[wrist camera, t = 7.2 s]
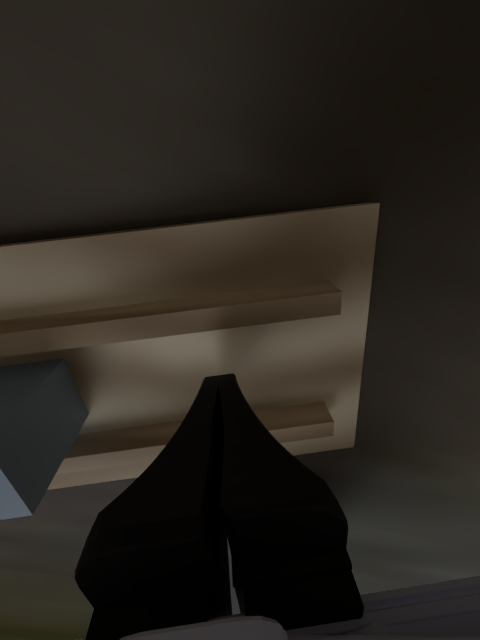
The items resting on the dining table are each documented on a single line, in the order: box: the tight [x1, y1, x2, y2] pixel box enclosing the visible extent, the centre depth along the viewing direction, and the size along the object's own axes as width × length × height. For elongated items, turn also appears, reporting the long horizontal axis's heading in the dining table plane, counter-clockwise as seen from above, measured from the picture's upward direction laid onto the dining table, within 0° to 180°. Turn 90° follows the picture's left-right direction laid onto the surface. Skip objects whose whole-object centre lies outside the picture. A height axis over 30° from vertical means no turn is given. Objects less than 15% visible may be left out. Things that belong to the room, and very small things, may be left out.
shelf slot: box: [0, 202, 380, 490], centre depth 11 cm, size 14×26×8 cm, turn 96°
